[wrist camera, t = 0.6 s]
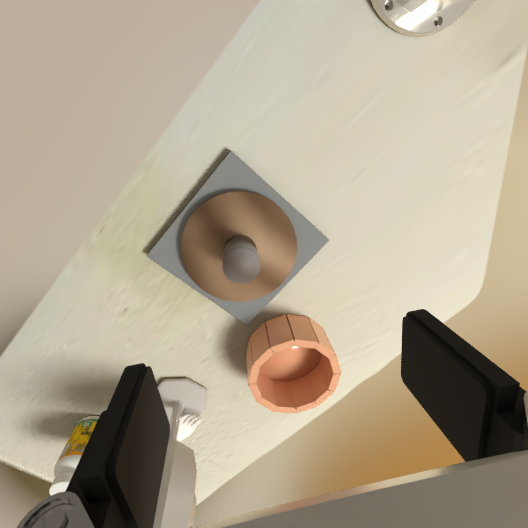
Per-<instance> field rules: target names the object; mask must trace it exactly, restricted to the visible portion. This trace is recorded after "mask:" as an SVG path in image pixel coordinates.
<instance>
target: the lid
mask: <svg viewBox="0 0 528 528" xmlns="http://www.w3.org/2000/svg"><path fill="white" fill-rule="evenodd" d="M296 255H297V238H296V234H295V230H294V228H293V225H292V223H291V221H290V219H289V218H288V216H287V215H286V214H285V212H284V211H283V210H282V209H281V208H280V207H279V206H278V205H277V204H276V203H274V202H273V201H272V200H270V199H268V198H267V197H265V196H262V195H260V194H257V193H253V192H249V191H230V192H225V193H221V194H218V195H216V196H213V197H211V198H210V199H208V200H206V201H205V202H204V203H202V204H201V205H200V206H199V207H198V208H197V209H196V210H195V211H194V212H193V214H192V215H191V216H190V218H189V220H188V222H187V224H186V226H185V228H184V231H183V234H182V239H181V256H182V260H183V264H184V266H185V269H186V271H187V273H188V274H189V276H190V277H191V279H192V280H193V281H194V282H195V283H196V285H197V286H198V287H200V288H201V289H202V290H203V291H205V292H207V293H208V294H210V295H212V296H214V297H216V298H219V299H222V300H227V301H235V302H243V301H251V300H255V299H258V298H261V297H263V296H266V295H267V294H269V293H271V292H272V291H274V290H275V289H277V288H278V287H279V286H280V285H281V284H282V283H283V282H284V281H285V280H286V278H287V277H288V275H289V274H290V272H291V270H292V268H293V266H294V263H295V260H296Z"/></svg>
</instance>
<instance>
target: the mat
mask: <svg viewBox="0 0 528 528" xmlns="http://www.w3.org/2000/svg"><path fill="white" fill-rule="evenodd" d="M230 191H249V192H253V193H257V194H260V195H262V196H265V197H267V198H268V199H270V200H272V201H273V202H274V203H276V204H277V205H278V206H279V207H280V208H281V209H282V210H283V211H284V212H285V214H286V215H287V216H288V218H289V219H290V221H291V223H292V225H293V228H294V230H295V234H296V238H297V255H296V260H295V263H294V266H293V268H292V270H291V272H290V274H289V275H288V277H287V278H286V280H285V281H284V282H283V283H282V284H281V285H280V286H279V287H278V288H277V289H275V290H274V291H272V292H271V293H269V294H267V295H266V296H263V297H261V298H258V299H255V300H251V301H243V302H235V301H227V300H222V299H219V298H216V297H214V296H212V295H210V294H208V293H207V292H205V291H203V290H202V289H201V288H200V287H198V286H197V285H196V283H195V282H194V281H193V280H192V279H191V277H190V276H189V274H188V273H187V271H186V269H185V266H184V264H183V260H182V256H181V239H182V234H183V231H184V228H185V226H186V224H187V222H188V220H189V218H190V216H191V215H192V214H193V212H194V211H195V210H196V209H197V208H198V207H199V206H200V205H201V204H202V203H204V202H205V201H206V200H208V199H210V198H211V197H213V196H216V195H218V194H221V193H225V192H230ZM328 241H329V239H328V238H327V237H326V236H324V235H323V234H322V233H321V232H320V231H319V230H318V229H317V228H316V227H315V226H313V225H312V224H311V223H310V222H309V221H308V220H307V219H306V218H305V217H304V216H302V215H301V214H300V213H299V212H298V211H297V210H296V209H295V208H294V207H292V206H291V205H290V204H289V203H288V202H287V201H286V200H285V199H284V198H283V197H281V196H280V195H279V194H278V193H277V192H276V191H275V190H274V189H273V188H272V187H270V186H269V185H268V184H267V183H266V182H265V181H264V180H263V179H262V178H261V177H259V176H258V175H257V174H256V173H255V172H254V171H253V170H252V169H251V168H250V167H248V166H247V165H246V164H245V163H244V162H243V161H242V160H241V159H240V158H239V157H237V156H236V155H235V154H234V153H233V152H232V151H230V152H229V154H228V155H227V156H226V157H225V159H224V160H223V161H222V162H221V164H220V165H219V166H218V167H217V169H216V170H215V171H214V172H213V174H212V175H211V176H210V177H209V179H208V180H207V181H206V182H205V184H204V185H203V186H202V187H201V189H200V190H199V191H198V192H197V194H196V195H195V196H194V197H193V199H192V200H191V201H190V202H189V204H188V205H187V206H186V207H185V208H184V210H183V211H182V212H181V213H180V215H179V216H178V217H177V218H176V220H175V221H174V222H173V223H172V225H171V226H170V227H169V228H168V230H167V231H166V232H165V233H164V235H163V236H162V237H161V238H160V240H159V241H158V242H157V243H156V245H155V246H154V247H153V248H152V250H151V251H150V252H149V253H148V255H147V257H148V258H150V259H151V260H153V261H154V262H156V263H157V264H159V265H160V266H161V267H163V268H164V269H166V270H167V271H169V272H170V273H172V274H173V275H175V276H176V277H177V278H179V279H180V280H182V281H183V282H185V283H186V284H188V285H189V286H191V287H192V288H193V289H195V290H196V291H198V292H199V293H201V294H202V295H204V296H205V297H206V298H208V299H209V300H211V301H212V302H214V303H215V304H217V305H218V306H220V307H221V308H222V309H224V310H225V311H227V312H228V313H230V314H231V315H233V316H234V317H236V318H237V319H238V320H240V321H241V322H243V323H244V324H246V325H248V324H249V323H250V322H251V321H252V320H253V319H254V318H255V317H256V315H257V314H258V313H259V312H260V311H261V310H262V309H263V308H264V307H265V306H266V305H267V304H268V303H269V302H270V301H271V300H272V299H273V298H274V297H275V296H276V295H277V294H278V293H279V292H280V291H281V290H282V289H283V288H284V287H285V285H286V284H287V283H288V282H289V281H290V280H291V279H292V278H293V277H294V276H295V275H296V274H297V273H298V272H299V271H300V270H301V269H302V268H303V267H304V266H305V265H306V264H307V263H308V262H309V261H310V260H311V259H312V258H313V257H314V255H315V254H316V253H317V252H318V251H319V250H320V249H321V248H322V247H323V246H324V245H325V244H326V243H327V242H328Z"/></svg>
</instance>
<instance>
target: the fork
mask: <svg viewBox="0 0 528 528" xmlns="http://www.w3.org/2000/svg"><path fill="white" fill-rule="evenodd" d="M188 416H190V414H186V415H183V416H182V417H181V420H180V425H179V431H178V437H177V441H179V442H181V441H182V440H183V439H184V438H186V437H188V436H189V435H190V434H191V433H192V432H193V431H194V429H195V428H196V427H197V425H198V424H199V423H200V422H201V421H202V420H203V418H201V419H198V418H199V417H195V416H193V415H192V416H190V417H188ZM187 417H188V418H187ZM193 417H194V418H193ZM186 418H187V419H186ZM191 418H193V419H192V420H191V421H190V422H188V421H189V420H190V419H191ZM185 419H186V421H185V422H183V421H184V420H185ZM196 419H198V420H196ZM195 420H196V421H195ZM194 421H195V422H194ZM193 422H194V423H193ZM192 423H193V424H192Z"/></svg>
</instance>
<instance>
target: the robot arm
mask: <svg viewBox="0 0 528 528" xmlns="http://www.w3.org/2000/svg"><path fill="white" fill-rule="evenodd" d="M474 2H475V0H371V3H372V5H373V8H374V9H375V11H376V12H377V14H378V15H379V17H380V18H381V19H382V20H383V21H384V22H385V23H386V24H387V25H388V26H389V27H390V28H392V29H393V30H395V31H397V32H398V33H401V34H405V35H408V36H425V35H430V34H433V33H435V32H438V31H440V30H442V29H444V28H446V27H448V26H450V25H451V24H453V23H454V22H455V21H457V20H458V19H459V18H460V17H462V16H463V15H464V14H465V13H466V11H467V10H468V9H469V8H470V7H471V6H472V5H473V3H474ZM385 6H386V7H387V10H385ZM434 22H435V24H434ZM401 360H402V361H401V377H402V380H403V382H404V384H405V385H406V386H407V388H408V389H409V390H410V391H411V393H412V394H413V395H414V397H415V398H416V399H417V400H418V402H419V403H420V404H421V405H422V407H423V408H424V409H425V410H426V412H427V413H428V414H429V416H430V417H431V418H432V419H433V421H434V422H435V423H436V425H437V426H438V427H439V428H440V430H441V431H442V432H443V433H444V435H445V436H446V437H447V439H448V440H449V441H450V442H451V444H452V445H453V446H454V448H455V449H456V450H457V451H458V453H459V454H460V455H461V456H462V458H463V459H464V460H465V462H464V463H459V464H454V465H450V466H446V467H441V468H437V469H432V470H428V471H424V472H420V473H415V474H411V475H406V476H402V477H397V478H393V479H389V480H384V481H380V482H376V483H371V484H367V485H363V486H359V487H355V488H350V489H346V490H341V491H337V492H333V493H329V494H325V495H320V496H316V497H312V498H307V499H304V500H299V501H295V502H291V503H286V504H282V505H278V506H274V507H270V508H265V509H262V510H257V511H253V512H249V513H245V514H241V515H236V516H232V517H228V518H224V519H220V520H216V521H212V522H208V523H204V524H200V525H196V526H192V527H188V528H528V391H527V392H526V391H525V390H523V389H522V388H521V387H520V386H519V385H520V383H519V382H517V381H516V380H515V379H514V378H512V377H511V376H510V375H508V374H507V373H506V372H505V371H503V370H502V369H501V368H499V367H498V366H497V365H496V364H494V363H493V362H492V361H490V360H489V359H488V358H487V357H485V356H484V355H483V354H482V353H480V352H479V351H477V350H476V349H475V348H474V347H473V346H471V345H470V344H469V343H467V342H466V341H464V339H462V338H461V337H460V336H458V335H457V334H456V333H455V332H453V331H452V330H451V329H449V328H448V327H447V326H446V325H444V324H443V323H442V322H441V321H439V320H438V319H437V318H435V317H434V316H433V315H432V314H430V313H429V312H428V311H426V310H425V309H421V310H415V311H410V312H408V313H407V314H406V316H405V317H404V318H403V324H402V358H401ZM169 436H170V424H169V420H168V417H167V414H166V411H165V408H164V405H163V402H162V399H161V396H160V393H159V390H158V387H157V384H156V381H155V378H154V375H153V372H152V369H151V367H150V366H148V367H146V366H145V364H143V363H142V364H136V365H131V366H127V367H126V368H125V369H124V372H123V374H122V376H121V379H120V381H119V383H118V385H117V388H116V390H115V392H114V395H113V397H112V399H111V401H110V404H109V406H108V408H107V410H106V411H104V412H102V413H101V415H100V417H99V419H98V421H97V423H96V425H95V427H94V430H93V432H92V434H91V436H90V438H89V441H88V443H87V445H86V447H85V449H84V452H83V454H82V456H81V458H80V460H79V463H78V465H77V467H76V469H75V471H74V474H73V476H72V478H71V480H70V482H69V485H68V487H67V489H66V491H65V492H59V493H56V494H54V495H52V496H49V497H48V498H46V499H44V500H43V501H41V502H40V503H38V504H37V505H36V506H35V507H34V508H33V509H31V510H30V511H29V512H28V513H27V515H26V516H25V517H24V518H23V519H22V520H21V522H20V523H19V525H18V526H17V528H153V525H154V519H155V514H156V508H157V503H158V497H159V491H160V486H161V480H162V475H163V469H164V464H165V458H166V452H167V447H168V441H169Z"/></svg>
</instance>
